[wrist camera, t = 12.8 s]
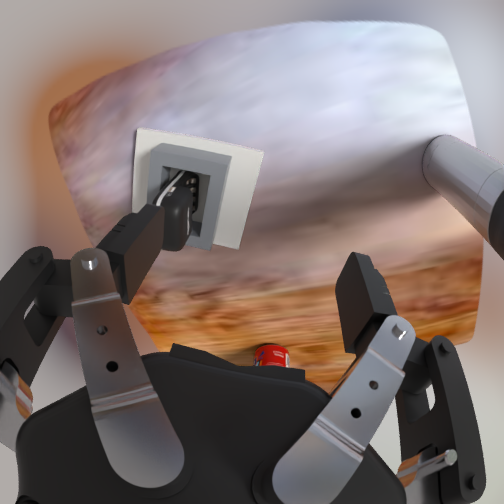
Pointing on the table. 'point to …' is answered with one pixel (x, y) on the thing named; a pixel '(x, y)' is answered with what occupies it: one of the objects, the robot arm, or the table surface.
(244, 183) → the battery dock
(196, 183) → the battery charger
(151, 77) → the table surface
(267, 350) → the soda can
